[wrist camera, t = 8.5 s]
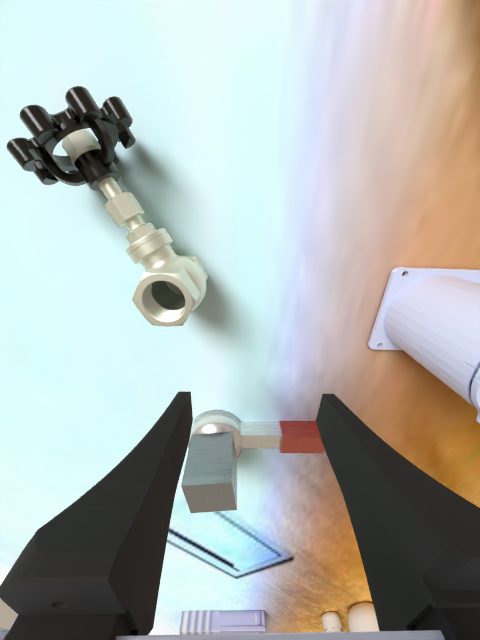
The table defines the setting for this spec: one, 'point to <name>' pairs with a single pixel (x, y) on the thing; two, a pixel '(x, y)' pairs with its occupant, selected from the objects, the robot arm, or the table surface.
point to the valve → (111, 196)
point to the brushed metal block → (211, 473)
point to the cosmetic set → (353, 619)
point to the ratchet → (261, 432)
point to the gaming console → (222, 622)
